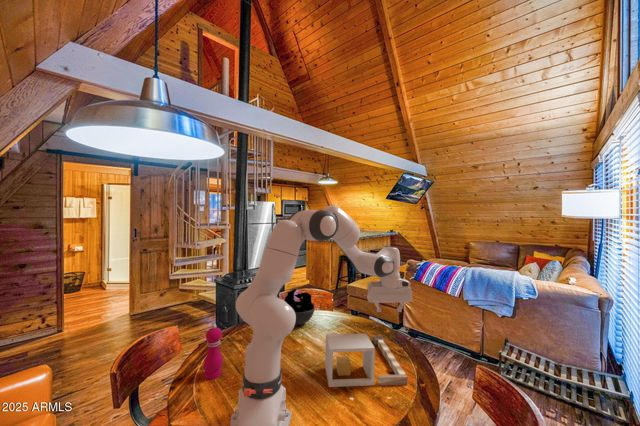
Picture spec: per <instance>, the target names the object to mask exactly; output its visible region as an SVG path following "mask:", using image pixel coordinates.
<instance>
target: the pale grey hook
mask: <svg viewBox="0 0 640 426" xmlns="http://www.w3.org/2000/svg"><path fill="white" fill-rule="evenodd" d="M372 344H373V345H374V347H377V348H378V349H379V351H380V353H382V355H383V357H384V358H385V360H386V362H387V363H388V365H389V366H390V367H389V368H390V369H391V370H392V372H393V374H378V377H377V378H378V379H377V380H378V381H377V383H378V385H379V386H403V385H404V386H405V385H406V386H407V385H408V376H407V374H406V372H405V371H404V370H403V368H402V366H401V365H400V364H399V361H397V359H396V357H395V356H394V354H393V353H392V352H391V349H390V348H389V347H388V345H387V344H386V339H385V338H384V337H383V335H381V334H378V335H376V334H375V335H372Z"/></svg>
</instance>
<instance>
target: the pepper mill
mask: <svg viewBox="0 0 640 426" xmlns="http://www.w3.org/2000/svg"><path fill="white" fill-rule="evenodd" d="M222 331H223V330H222V329H221V328H219V327H217V324H212V325H211V328H209V329H208V330H207V331H206V333H205V339H206V346H207V353H206V356H205V358H204V360H203V369H204V378H205V379H206V380H214V379H217V378H219V377H220V376H221V375H222V366H223V363H224V361H223V356H222V354H221V352H220V345H221V338H222V335H223V333H222Z"/></svg>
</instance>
